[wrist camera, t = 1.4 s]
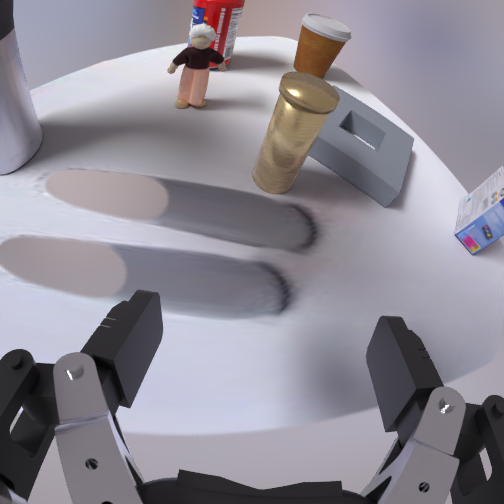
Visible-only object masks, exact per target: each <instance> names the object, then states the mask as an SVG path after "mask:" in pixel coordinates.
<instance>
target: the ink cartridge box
mask: <svg viewBox="0 0 504 504" xmlns="http://www.w3.org/2000/svg"><path fill="white" fill-rule="evenodd" d="M455 235H456V236H457V237H458V238H459V240H460V241H461V242H462V243H463V244H464V246H465V247H466V248H467V249H468V250H469V252H470V253H471V254H472V255H474V254H476V253H477V252H479V251H480V250H482V249H483V248H485V247H487V246H488V245H490V244H491V243H493V242H494V241H496V240H497V239H499V238H500V237H501V236H503V235H504V165H503V166H502V167H500V168H499V169H498V170H497V171H496V172H495V173H494V174H493V175H492V176H490V177H489V178H488V179H487V180H486V181H485V182H484V183H482V184H481V185H480V186H479V187H478V188H476V189H475V190H474V191H473V192H472V193H470V194H469V195H468V196H467V197H466V198H464V199H463V200H462V201H461V202H460V206H459V213H458V219H457V225H456V231H455Z"/></svg>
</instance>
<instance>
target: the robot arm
mask: <svg viewBox="0 0 504 504" xmlns="http://www.w3.org/2000/svg"><path fill="white" fill-rule="evenodd" d="M42 139H43V134H42V130H41V127H40V124H39V121H38V118H37V115H36V112H35V109H34V106H33V102H32V99H31V96H30V92H29V89H28V85H27V82H26V78H25V74H24V70H23V66H22V62H21V57H20V53H19V48H18V44H17V39H16V33H15V27H14V19H13V0H0V175H1V174H7V173H10V172H12V171H14V170H16V169H18V168H19V167H21V166H23V165H24V164H25V163H26V162H27V161H29V160H30V159H31V158H32V157H33V155H34V154H35V153H36V152H37V150H38V149H39V147H40V145H41V142H42ZM162 335H163V322H162V313H161V304H160V296H159V293H157V292H151V291H145V290H137V291H136V292H135V294H134V295H133V296H132V298H131V299H130V300H129V302H128V301H122V302H121V303H119V304H118V305H116V306H114V307H113V308H112V309H111V311H110V312H109V313H108V314H107V316H106V319H105V318H104V320H103V321H102V322H101V324H100V326H98V328H97V329H96V331H95V332H94V333H93V335H92V336H91V337H90V339H89V340H88V342H87V343H86V344H85V346H84V347H83V349H82V350H81V351H80V353H79V352H75V353H70V354H67V355H65V356H63V357H61V358H60V359H59V360H58V361H57V362H56V364H46V363H35V361H34V359H33V357H32V355H31V354H30V352H28V351H26V350H23V349H16V350H12V351H10V352H8V353H7V354H5V355H4V356H3V357H2V359H1V360H0V504H28V503H27V501H28V498H29V496H30V493H31V490H32V488H33V485H34V483H35V480H36V478H37V475H38V472H39V470H40V468H41V465H42V463H43V460H44V458H45V456H46V454H47V451H48V449H49V447H50V444H51V442H52V440H53V438H54V436H56V441H57V446H58V451H59V455H60V460H61V464H62V468H63V472H64V475H65V479H66V483H67V487H68V490H69V493H70V496H71V499H72V502H73V504H444V503H445V501H446V498H447V496H448V494H449V491H450V492H451V497H452V503H453V504H504V398H502V397H501V396H498V395H491V396H489V397H488V398H486V400H485V401H484V402H483V403H482V405H476V404H469V403H465V401H464V399H463V397H462V396H461V395H460V394H459V393H458V392H457V391H456V390H454V389H452V388H449V387H444V385H443V383H442V381H441V379H440V376H439V374H438V372H437V370H436V368H435V366H434V364H433V362H432V360H431V359H430V356H429V354H428V352H427V351H426V348H425V346H424V344H423V343H422V341H421V339H420V338H419V337H418V336H417V335H416V334H415V333H414V332H413V331H412V330H408V328H407V326H406V324H405V322H404V320H403V319H402V317H397V316H381V317H380V319H379V321H378V323H377V326H376V328H375V331H374V333H373V336H372V338H371V341H370V343H369V346H368V349H367V355H366V360H367V365H368V368H369V372H370V375H371V379H372V382H373V386H374V390H375V393H376V397H377V401H378V405H379V409H380V412H381V416H382V420H383V424H384V429H385V432H393V431H397V433H398V437H397V439H396V440H395V441H394V443H393V445H392V447H391V449H390V450H389V452H388V454H387V456H386V457H385V459H384V461H383V463H382V464H381V466H380V468H379V469H378V471H377V473H376V474H375V476H374V477H373V479H372V480H371V482H370V483H369V484H368V485H367V486H366V487H365V489H364V490H363V491H362V492H361V493H360V494H357V493H354V492H351V491H347V490H342V483H341V481H331V482H303V483H298V484H293V485H288V486H283V487H277V488H272V489H265V490H260V489H256V488H252V487H249V486H245V485H243V484H239V483H237V482H233V481H231V480H228V479H225V478H222V477H219V476H213V475H207V474H201V473H195V472H190V471H185V470H179V473H178V477H177V478H162V479H158V480H152V481H149V482H146V483H145V481H144V479H143V477H142V475H141V473H140V471H139V469H138V467H137V465H136V463H135V461H134V459H133V457H132V455H131V452H130V450H129V447H128V445H127V442H126V440H125V437H124V434H123V432H122V429H121V426H120V424H119V421H118V418H117V415H116V411H117V409H118V407H119V405H120V406H123V407H127V408H131V406H132V403H133V401H134V399H135V397H136V394H137V392H138V390H139V388H140V385H141V383H142V381H143V379H144V377H145V374H146V372H147V370H148V368H149V366H150V364H151V361H152V359H153V357H154V355H155V353H156V351H157V349H158V347H159V344H160V342H161V339H162ZM21 406H22V408H23V409H24V410H23V411H22V413H21V415H20V417H19V418H18V420H17V422H16V424H15V426H14V428H13V430H12V431H11V433H10V426H11V424H12V422H13V420H14V418H15V416H16V415H17V413H18V411H19V409H20V408H21ZM485 447H486V450H487V453H488V456H489V459H490V463H491V466H492V474H491V477H490V478H489V480H488V481H487V479H486V476H485V471H484V468H483V465H482V461H481V458H480V454H479V453H480V452H481V451H482V450H483V449H484V448H485Z"/></svg>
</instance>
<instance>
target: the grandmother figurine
mask: <svg viewBox="0 0 504 504" xmlns="http://www.w3.org/2000/svg"><path fill="white" fill-rule="evenodd" d="M189 35H190V37H189V38H190V39H191V43H192V45H193V46H192V47H187V48H185V49H184V50H183V51H182V52H181V53H180V54H179V55H177V56H176V57H175V58H174V59H173V62H172V63H171V65H170V67H169V68H168V70H167V71H168V73H170V74H173V73H174V72H175V69H177V68H178V66H179V65H181V64H185V66H184V68H183V72H182V75H181V80H180V85H179V93H178V99H177V101H176V102H175V107H177V108H186V107H188V105H189V103H190V104H191V105H193V106H195V107H204V106H205V105H206V101H205V100H204V98H203V97H205V94H206V90H207V85H208V78H209V72H210V67H209V63H210V62H212V63H215V64H217V65H218V66H219V70H220V71H225V70H226V69H227V67H226V66H225V62H224V59H225V58H224V57H223V56H222V55H221V54H220V53H219V52H218V51H216V50H214V49H212V48H209V46H210V44H211V42H212V41H214V40H215V38H216V33H215V31H214V29H213V28H211V26H208V25H206V24H198V25H195V26H194V27H193V28H192V29H191V31H190V33H189Z"/></svg>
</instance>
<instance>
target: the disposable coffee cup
mask: <svg viewBox="0 0 504 504" xmlns="http://www.w3.org/2000/svg"><path fill="white" fill-rule="evenodd" d="M301 20H302V28H301V33H300V38H299V42H298V47H297V52H296V56H295V61H294V68H295V69H296V70H297V71H298V72H302V73H307V74H310V75H313V76H316V77H318V78H323V77H324V75H325V73H326V72H327V70H328V69H329V67H330V66H331V64H332V63H333V61H334V60H335V58H336V56H337V55H338V54H339V52H340V50H341V49H342V47H343V46H344V44H345V43H346V42H347V41H348V40H350V39H351V36H350V34H351V30H350V29H349V28H348V27H347V26H345V25H344V24H342V23H341V22H339V21H337V20H334V19H332V18H329V17H327V16H324V15H320V14H316V13H307V14H306V15H305V16H304V17H303V18H302V19H301Z"/></svg>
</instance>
